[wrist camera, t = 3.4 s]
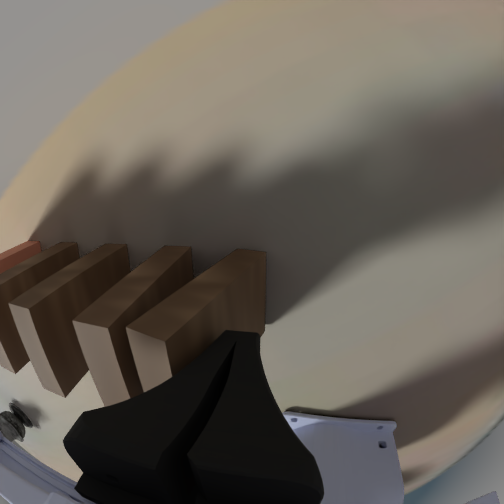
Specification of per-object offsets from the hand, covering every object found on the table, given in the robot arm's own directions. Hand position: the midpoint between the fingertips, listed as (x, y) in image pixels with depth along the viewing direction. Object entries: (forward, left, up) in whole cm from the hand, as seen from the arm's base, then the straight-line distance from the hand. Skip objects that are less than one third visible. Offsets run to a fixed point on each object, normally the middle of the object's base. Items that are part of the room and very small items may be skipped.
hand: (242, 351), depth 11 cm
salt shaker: (+32, +33, -6) cm, 47 cm away
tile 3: (+9, +2, -6) cm, 10 cm away
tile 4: (+13, +2, -6) cm, 14 cm away
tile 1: (0, 0, -6) cm, 6 cm away
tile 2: (+4, +1, -6) cm, 7 cm away
